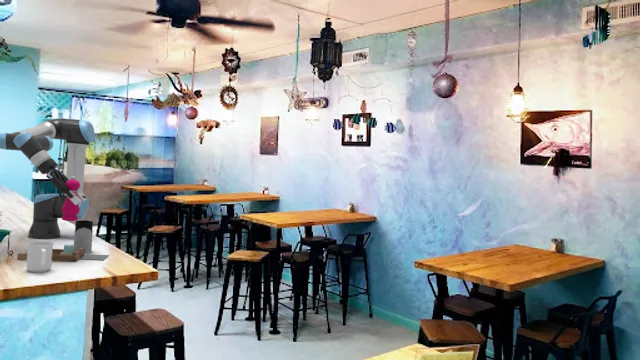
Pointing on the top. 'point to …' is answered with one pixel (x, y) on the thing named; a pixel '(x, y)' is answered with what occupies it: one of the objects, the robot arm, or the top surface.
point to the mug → (39, 256)
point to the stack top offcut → (68, 248)
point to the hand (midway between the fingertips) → (80, 202)
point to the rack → (58, 257)
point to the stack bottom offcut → (66, 253)
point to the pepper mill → (69, 207)
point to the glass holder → (83, 235)
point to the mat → (94, 257)
